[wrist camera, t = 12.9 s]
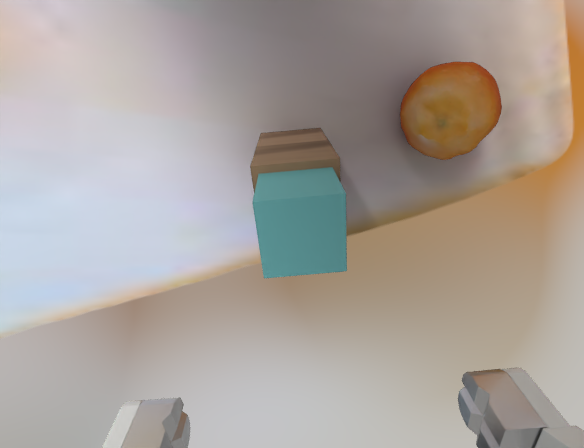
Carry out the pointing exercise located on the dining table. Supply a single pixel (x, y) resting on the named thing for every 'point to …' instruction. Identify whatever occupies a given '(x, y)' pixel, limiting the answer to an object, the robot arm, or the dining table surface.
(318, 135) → the block
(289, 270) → the teal block
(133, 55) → the dining table surface
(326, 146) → the tower top
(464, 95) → the fruit
